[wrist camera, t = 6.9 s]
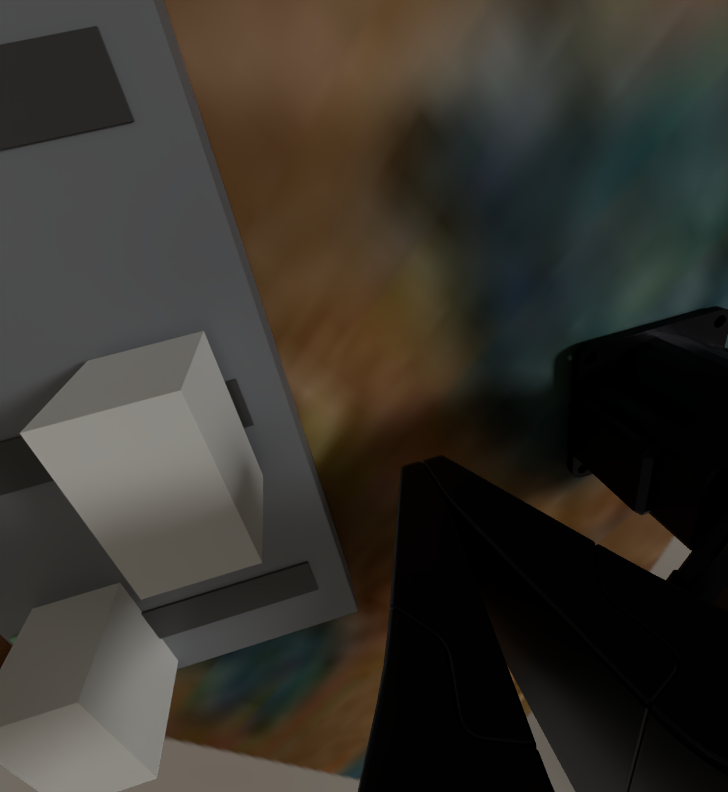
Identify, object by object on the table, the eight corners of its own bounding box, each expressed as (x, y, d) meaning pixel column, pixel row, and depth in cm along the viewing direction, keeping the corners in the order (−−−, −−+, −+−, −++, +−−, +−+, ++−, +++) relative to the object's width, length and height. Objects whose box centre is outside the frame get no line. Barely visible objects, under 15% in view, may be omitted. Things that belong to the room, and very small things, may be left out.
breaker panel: (134, -87, 9) (-27, -404, 4) (350, 573, 20) (378, 711, 15) (-489, 23, 8) (-1707, -217, 3) (90, 654, 19) (25, 831, 14)
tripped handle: (203, 331, 11) (180, 390, 8) (263, 475, 14) (262, 563, 11) (87, 360, 11) (19, 433, 8) (169, 502, 13) (140, 599, 10)
